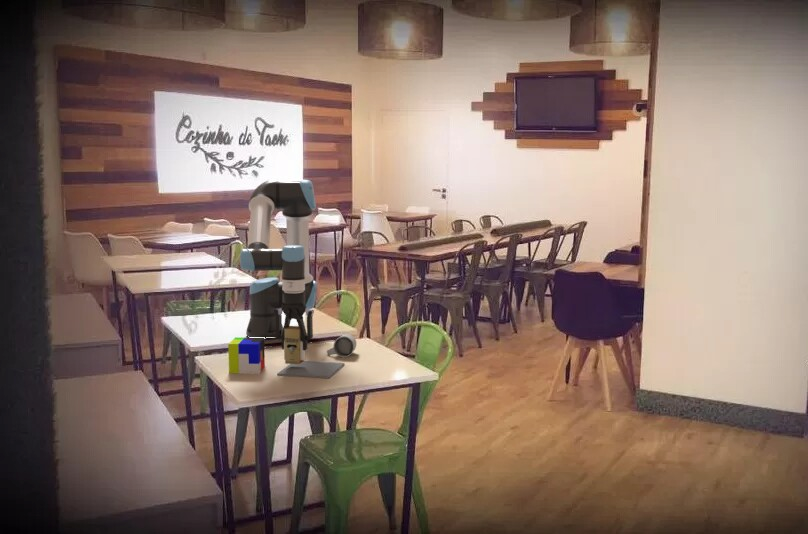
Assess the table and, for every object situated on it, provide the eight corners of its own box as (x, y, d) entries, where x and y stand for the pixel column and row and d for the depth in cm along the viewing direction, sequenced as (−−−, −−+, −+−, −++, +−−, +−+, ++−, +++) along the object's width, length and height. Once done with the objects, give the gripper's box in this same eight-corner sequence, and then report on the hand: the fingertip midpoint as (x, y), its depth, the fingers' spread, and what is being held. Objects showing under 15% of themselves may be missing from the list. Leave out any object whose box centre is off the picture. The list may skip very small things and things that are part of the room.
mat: (295, 362, 277) (295, 360, 277) (344, 364, 274) (344, 363, 274) (277, 375, 260) (277, 373, 260) (329, 378, 256) (329, 376, 256)
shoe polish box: (299, 364, 264) (298, 329, 263) (285, 363, 265) (284, 328, 264) (303, 360, 269) (303, 326, 268) (290, 360, 270) (289, 325, 269)
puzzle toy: (258, 373, 262) (258, 344, 261) (229, 373, 262) (228, 343, 261) (264, 365, 272) (264, 337, 271) (236, 365, 272) (235, 337, 271)
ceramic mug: (357, 352, 292) (356, 332, 291) (354, 357, 284) (353, 336, 283) (329, 352, 293) (328, 331, 292) (325, 357, 285) (324, 336, 284)
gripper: (264, 292, 263) (265, 360, 266) (315, 294, 259) (316, 363, 262) (272, 288, 270) (273, 355, 273) (322, 290, 266) (323, 357, 269)
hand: (294, 358), depth 267 cm, fingers closed on shoe polish box, 5 cm apart
